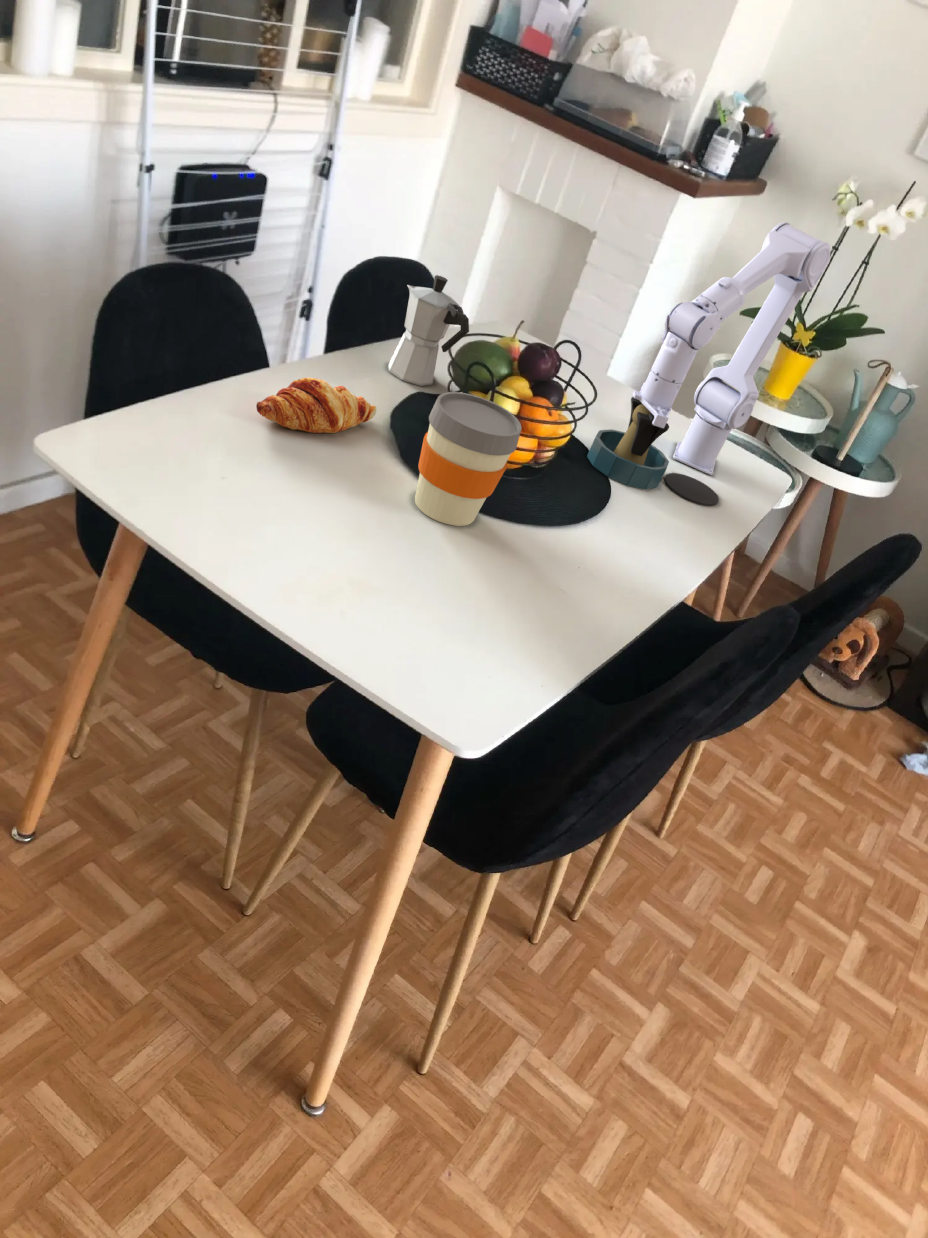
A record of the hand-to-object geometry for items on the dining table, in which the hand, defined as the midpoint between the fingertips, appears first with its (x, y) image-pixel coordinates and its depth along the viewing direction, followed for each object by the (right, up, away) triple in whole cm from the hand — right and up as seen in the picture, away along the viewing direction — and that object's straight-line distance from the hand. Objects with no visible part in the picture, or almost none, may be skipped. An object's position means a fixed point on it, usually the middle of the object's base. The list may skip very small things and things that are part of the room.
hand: (633, 447), depth 175 cm
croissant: (-52, -1, -24) cm, 57 cm away
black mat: (+11, -7, +5) cm, 14 cm away
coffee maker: (-38, +13, +5) cm, 41 cm away
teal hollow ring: (-1, -3, +2) cm, 4 cm away
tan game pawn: (-1, -3, +2) cm, 4 cm away
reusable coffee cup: (-32, -14, -32) cm, 48 cm away
